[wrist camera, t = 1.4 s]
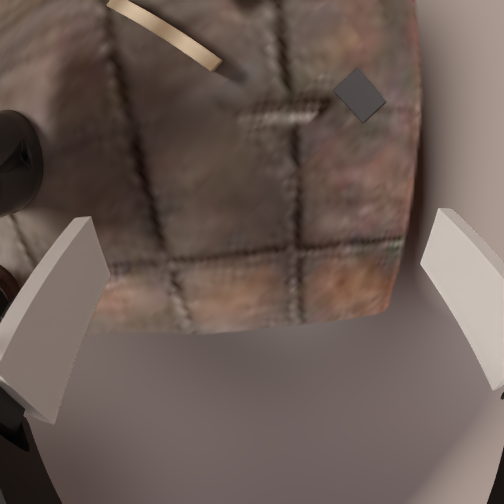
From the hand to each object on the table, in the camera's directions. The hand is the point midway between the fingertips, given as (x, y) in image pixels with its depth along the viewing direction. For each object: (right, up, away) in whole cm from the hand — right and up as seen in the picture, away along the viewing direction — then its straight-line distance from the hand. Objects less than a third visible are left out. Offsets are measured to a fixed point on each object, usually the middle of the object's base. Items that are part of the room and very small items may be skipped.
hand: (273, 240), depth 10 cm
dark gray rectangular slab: (+11, +17, +17) cm, 26 cm away
